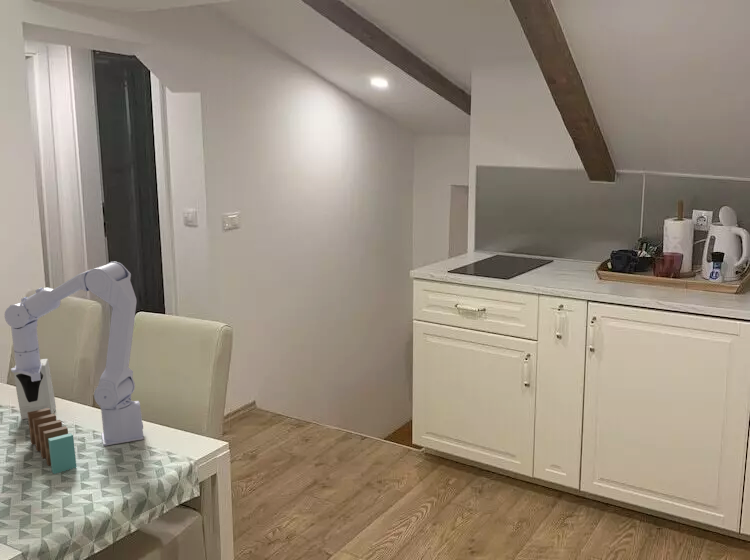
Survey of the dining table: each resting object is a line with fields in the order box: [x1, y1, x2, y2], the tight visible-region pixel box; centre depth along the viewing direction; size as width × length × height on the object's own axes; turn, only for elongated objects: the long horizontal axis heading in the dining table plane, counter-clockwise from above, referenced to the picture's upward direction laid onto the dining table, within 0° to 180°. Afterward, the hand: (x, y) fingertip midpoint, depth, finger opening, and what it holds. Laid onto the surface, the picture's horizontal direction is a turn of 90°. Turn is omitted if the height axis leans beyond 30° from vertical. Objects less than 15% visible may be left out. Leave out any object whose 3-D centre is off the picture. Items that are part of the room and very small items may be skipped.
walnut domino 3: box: [38, 419, 63, 460], centre depth 182 cm, size 2×5×8 cm, turn 127°
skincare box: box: [13, 358, 57, 420], centre depth 207 cm, size 8×6×15 cm
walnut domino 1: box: [27, 408, 51, 446], centre depth 190 cm, size 2×5×8 cm, turn 127°
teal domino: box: [48, 432, 77, 475], centre depth 174 cm, size 2×5×8 cm, turn 127°
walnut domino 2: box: [32, 413, 57, 453], centre depth 186 cm, size 2×5×8 cm, turn 127°
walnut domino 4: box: [43, 425, 69, 467], centre depth 178 cm, size 2×5×8 cm, turn 127°
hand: (32, 400), depth 194 cm, fingers closed
